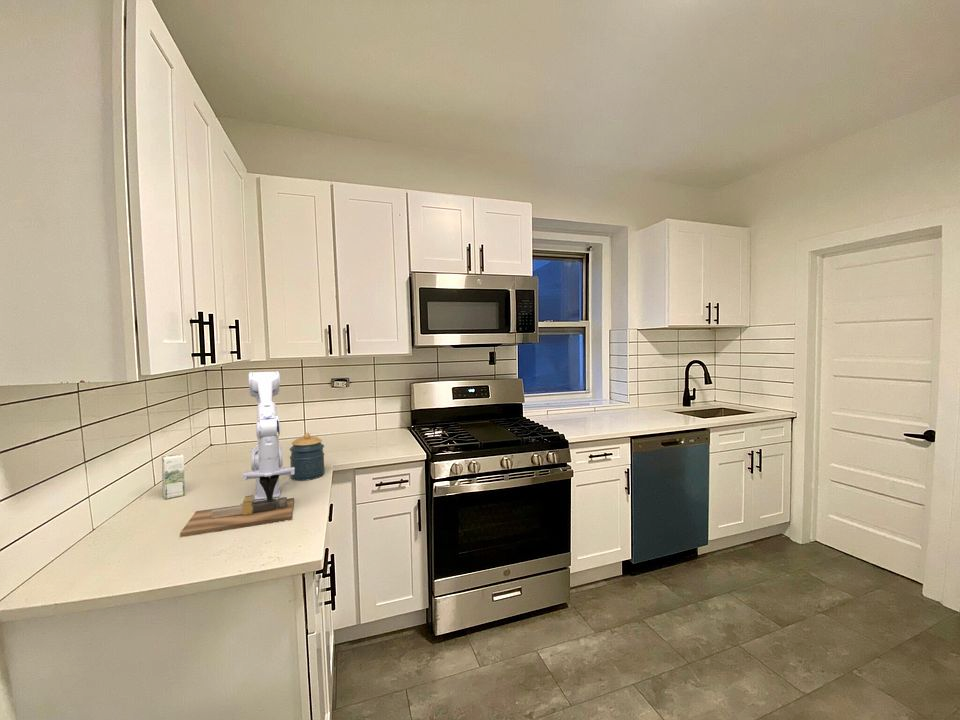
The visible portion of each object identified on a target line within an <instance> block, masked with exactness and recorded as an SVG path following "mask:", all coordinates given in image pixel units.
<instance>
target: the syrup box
mask: <svg viewBox="0 0 960 720" xmlns="http://www.w3.org/2000/svg"><path fill="white" fill-rule="evenodd" d="M161 469H162V470H161V474H162V475H161V478H162V496H163V497H164V500H170V499H174V498H178V497H179V498H180V497H182V496H185V495H186V494H185V493H186V492H185V491H186V490H185V489H186V487H185V486H186V485H185V484H186V483H185V482H186V481H185V480H186V479H185V456H184V455H183V454H182V453H180V452H179V453H173V454H167V455H162V456H161Z"/></svg>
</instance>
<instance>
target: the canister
mask: <svg viewBox="0 0 960 720" xmlns="http://www.w3.org/2000/svg"><path fill="white" fill-rule="evenodd" d="M322 441H323V439H321V438H319V437H318V436H314V435H313V436H311V434H310V433H309V432H305V433H303V436H302V437H298V438H295V440H293V441H292V442H291V445H292V446H291V447H290V448H289V451H290V456H289V460H290V461H289V462H290V467H295V474H294V475H291V474H290V475H289V476H290V479H291V480H293V479H295V481H308V480H307V479H311V480H314V479H313V478H315V479H317V478H316V477H318V478H320V477H319V476H321V477H322V476H324V475H325V470H326V469H325V452H324V449H323V448H325V445H324V443H322ZM323 474H324V475H323Z"/></svg>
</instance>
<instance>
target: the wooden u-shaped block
mask: <svg viewBox="0 0 960 720" xmlns="http://www.w3.org/2000/svg"><path fill="white" fill-rule="evenodd" d="M254 496H255V494H251V495H245V496H244V499H243V501H242V503H241V504H242V510H243V515H248V514H252V505H253V502H255V501H256V500H255V499H254Z"/></svg>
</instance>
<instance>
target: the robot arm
mask: <svg viewBox="0 0 960 720" xmlns="http://www.w3.org/2000/svg"><path fill="white" fill-rule="evenodd" d="M280 387H281V377H280V372H279V371H278V370H276V371H253V372H252V371H249V373H248V389H249V394H250V397H253V398H255V399H256V402H257V404H258V405H256V418H257V420H256V422H255V423H256V425H255V428H256V430H255V433H256V438H257V439H256V440H257V444H256V445H255V446H254V447H253V448H251V451H250V453H251V455H250V466H251V467H250V469H251V471H248V472H247V471H246V472H243V473H242V481H248V480H253V479H254V480H255V494H254V499H255V501H260V500H267V501H269V500H272V499H275V498H280V496H281V491H282V487H281V486H280V481H279V480H280V479H279V477H280V476H291V475H294V474H295V467H291V466H290V467H283V464H284V461H283V451H282V446H281V444H280V443H279V436H280V434H281V423H280V418H279V416H278V411H277V405H276V403H275V402H274V401H273V398H274V397H276V396H277V395H279V392H280ZM290 474H291V475H290Z"/></svg>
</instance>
